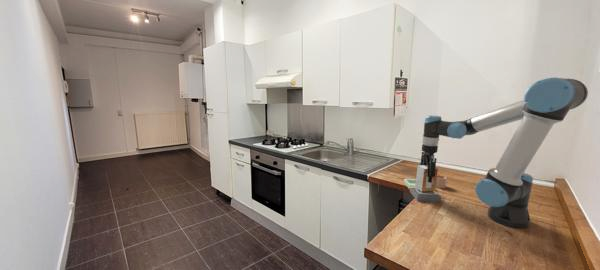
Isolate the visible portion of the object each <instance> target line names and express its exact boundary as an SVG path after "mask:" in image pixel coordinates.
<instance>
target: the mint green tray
mask: <svg viewBox="0 0 600 270" xmlns="http://www.w3.org/2000/svg"><path fill="white" fill-rule="evenodd" d="M403 184H404V185H405V184H406V185H405V186H406V187H407V188H408V190H410V187H413V186H415V185H416V178H415V179H414V178H404V179H403Z"/></svg>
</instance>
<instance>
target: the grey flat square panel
mask: <svg viewBox="0 0 600 270" xmlns="http://www.w3.org/2000/svg"><path fill="white" fill-rule="evenodd" d="M413 188H414V190H415V191H416V193H417V194H418V195H427V196H438V195H440V194H439V193H438V192H437V191H436V190H435V191H420V190H419V189H417V188H416V187H415V186H413Z"/></svg>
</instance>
